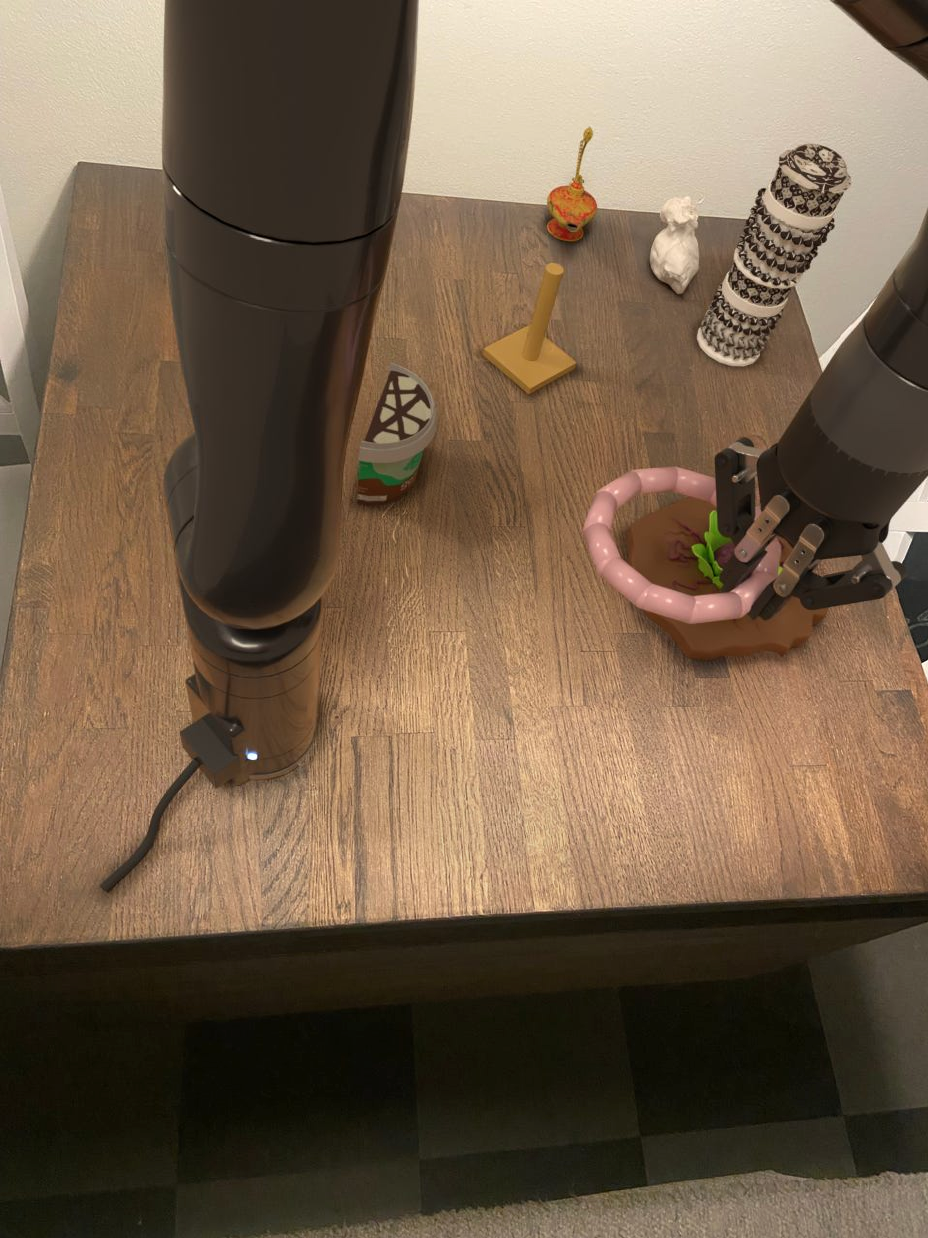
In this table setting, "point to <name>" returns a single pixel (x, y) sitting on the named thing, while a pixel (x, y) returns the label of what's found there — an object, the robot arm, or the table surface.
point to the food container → (395, 439)
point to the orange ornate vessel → (571, 203)
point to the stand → (533, 343)
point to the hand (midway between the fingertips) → (744, 599)
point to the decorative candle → (774, 252)
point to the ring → (639, 586)
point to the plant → (709, 583)
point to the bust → (676, 244)
